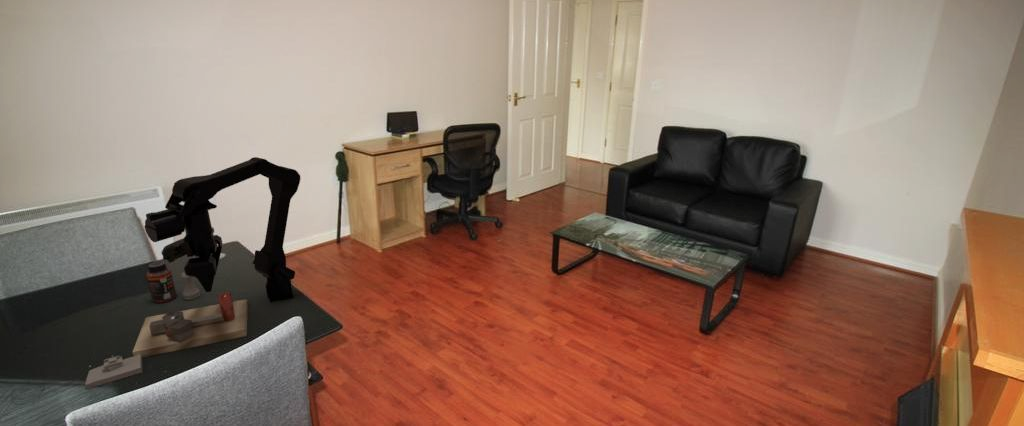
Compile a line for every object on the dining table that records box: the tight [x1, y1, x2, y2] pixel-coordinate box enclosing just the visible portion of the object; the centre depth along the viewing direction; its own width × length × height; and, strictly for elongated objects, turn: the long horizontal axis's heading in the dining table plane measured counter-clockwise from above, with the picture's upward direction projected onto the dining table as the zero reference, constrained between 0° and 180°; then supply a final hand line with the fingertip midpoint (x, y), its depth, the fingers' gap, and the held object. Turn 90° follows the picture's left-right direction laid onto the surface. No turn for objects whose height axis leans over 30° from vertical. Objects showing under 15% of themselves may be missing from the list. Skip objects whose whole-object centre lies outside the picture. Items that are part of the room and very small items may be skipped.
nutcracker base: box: [132, 299, 249, 359], centre depth 129 cm, size 24×17×6 cm
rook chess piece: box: [180, 271, 201, 301], centre depth 145 cm, size 4×4×8 cm
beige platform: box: [85, 354, 143, 390], centre depth 114 cm, size 12×11×4 cm
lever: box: [149, 291, 235, 335], centre depth 127 cm, size 18×4×7 cm, turn 116°
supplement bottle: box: [146, 260, 177, 304], centre depth 143 cm, size 6×6×11 cm
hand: (211, 283), depth 129 cm, fingers open, 9 cm apart
